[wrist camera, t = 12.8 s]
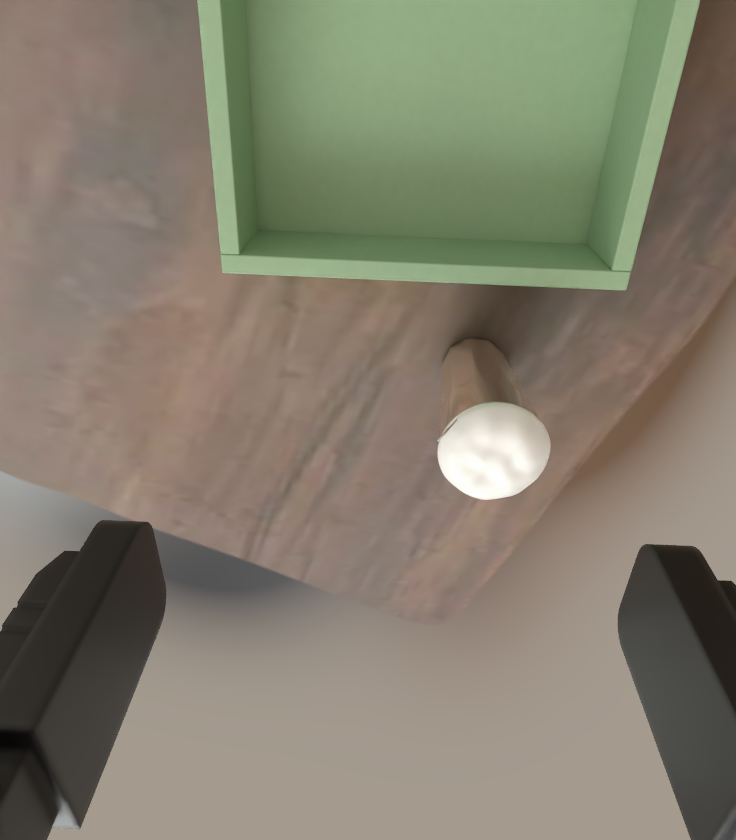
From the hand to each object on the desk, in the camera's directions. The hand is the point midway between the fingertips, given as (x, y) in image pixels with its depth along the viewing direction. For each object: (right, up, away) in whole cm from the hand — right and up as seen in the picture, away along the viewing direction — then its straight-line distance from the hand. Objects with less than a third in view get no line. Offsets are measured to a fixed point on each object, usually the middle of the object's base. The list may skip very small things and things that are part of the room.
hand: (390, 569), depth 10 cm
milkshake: (+5, +6, +22) cm, 23 cm away
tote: (+2, +18, +15) cm, 23 cm away
